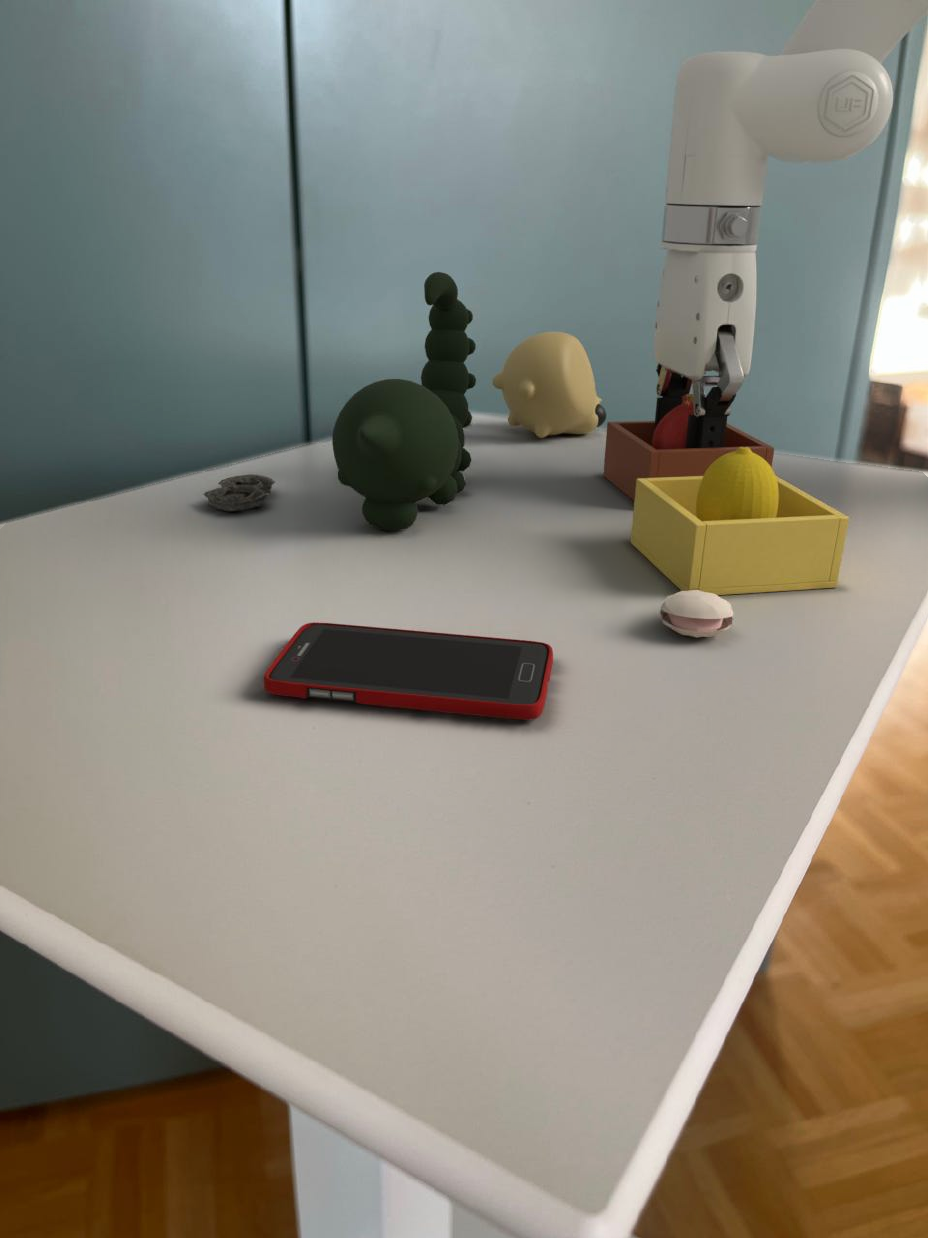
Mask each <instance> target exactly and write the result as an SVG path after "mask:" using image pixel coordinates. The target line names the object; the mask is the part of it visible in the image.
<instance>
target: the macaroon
mask: <svg viewBox="0 0 928 1238" xmlns="http://www.w3.org/2000/svg"><path fill="white" fill-rule="evenodd" d="M659 614H660V617H661V620H662V623H663V625H665V626H666V627H668V628H670V629H671V630H673V631H674V632H675V633H677V634H679V635H682V636H689V637H693V638H696V639H697V638H702V637H704V638H711V637H714V636H716V635H718V634H719V635H720V634H721V633H723V632H726V631H727V630H729V629H730V627H731V626H732V624H733V619H734V618H733V617H734V611H733V608H732V605H731V603H730V602H729V601H728V600H726V599H723V598H722V597H721V596H720V595H716V594H713V593H708V592H703V591H699V590H692V591H681V590H680V591H678V592H676V593H674V594H670V595H667V596H666V597H665V599H664V600H663V602H662V603H661V605H660V612H659Z"/></svg>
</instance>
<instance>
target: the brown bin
mask: <svg viewBox="0 0 928 1238" xmlns="http://www.w3.org/2000/svg"><path fill="white" fill-rule="evenodd" d="M606 423H607V424H606V438H605V447H604V460H603V461H604V462H603V477H604V478H605V479H607V480H608V481H609V482H610V483H611V484H613V485H614V486H615V487H616V488H617V489H619V490H620V491H621V492H622V493H624V494H625V495H626V496H627V497H628V498H630V499H631V500H632V501H633V502H635V491H636V480H637V479H639V478H645V479H646V478H662V477H688V476H704V474H705V472H706V470H707V469H708V468H709V466H710V465H711V464H712V463H713V462H714V461H715V460H717V459H718V458H719V457H721V456H723V455H725V454H727V453H730V452H734V451H736V450H737V449H738V448H739V447H748V448H750V450H751V451H752V453H755V454H757V455H758V456H760V457H762V458H763V459H764V460H766V462H767V463H768V464H769V465H770V466H771V468H772V469H773V461H774V454H775V447H774V446H771V445H770V444H768V443H766V442H764V441H763V440H760V439H759V438H756V437H754V436H752V435H750V434H749V433H747V432H745V431H742V430H741V429H739V428H737V427H735V426H733V425H731V424H729V423H727V424H726V432H725V440H724V447H722V448H691V449H661V450H656V449H655V448H653V447H652V439H653V434H654V425H655V420H628V421H627V420H626V421H607V422H606Z"/></svg>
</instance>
